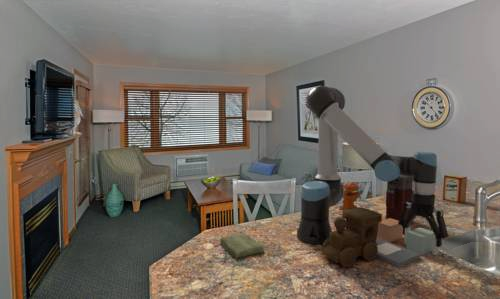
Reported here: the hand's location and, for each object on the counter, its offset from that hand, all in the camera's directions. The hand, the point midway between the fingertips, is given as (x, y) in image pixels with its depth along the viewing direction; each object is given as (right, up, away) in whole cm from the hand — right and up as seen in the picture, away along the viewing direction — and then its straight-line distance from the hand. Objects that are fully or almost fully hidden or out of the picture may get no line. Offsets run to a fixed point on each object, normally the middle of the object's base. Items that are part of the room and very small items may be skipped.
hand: (420, 248), depth 111 cm
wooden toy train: (-30, -1, -7) cm, 30 cm away
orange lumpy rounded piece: (-13, +4, +42) cm, 44 cm away
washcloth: (-70, -1, +3) cm, 70 cm away
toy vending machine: (+8, +3, +32) cm, 33 cm away
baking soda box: (+60, +6, +66) cm, 89 cm away
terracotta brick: (-7, +1, +11) cm, 13 cm away
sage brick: (0, 0, 0) cm, 0 cm away
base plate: (-15, -1, -3) cm, 15 cm away
